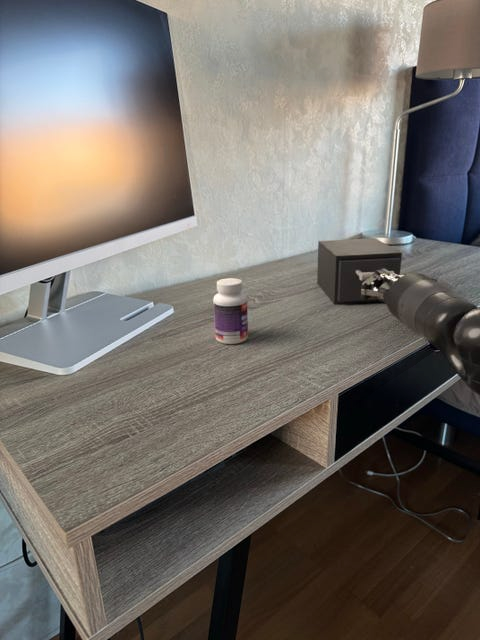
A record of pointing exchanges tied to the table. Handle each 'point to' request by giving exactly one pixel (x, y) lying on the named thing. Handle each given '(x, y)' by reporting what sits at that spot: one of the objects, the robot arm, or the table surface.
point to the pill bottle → (230, 312)
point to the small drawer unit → (347, 250)
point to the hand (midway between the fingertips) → (378, 275)
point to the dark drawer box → (361, 275)
